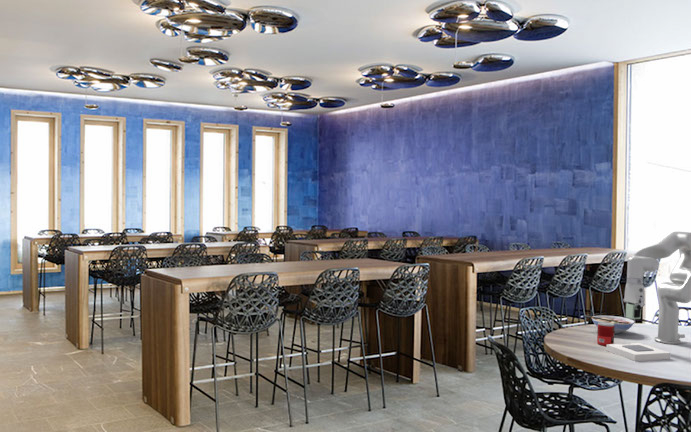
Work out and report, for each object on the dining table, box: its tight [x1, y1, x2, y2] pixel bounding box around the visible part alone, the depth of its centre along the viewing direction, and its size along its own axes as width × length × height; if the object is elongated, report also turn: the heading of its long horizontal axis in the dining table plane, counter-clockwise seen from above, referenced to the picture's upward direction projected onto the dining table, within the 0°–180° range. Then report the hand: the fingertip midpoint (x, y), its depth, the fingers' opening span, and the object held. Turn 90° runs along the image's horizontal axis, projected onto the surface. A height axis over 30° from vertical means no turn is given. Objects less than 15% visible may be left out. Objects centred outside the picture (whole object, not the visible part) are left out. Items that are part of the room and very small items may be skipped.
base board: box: [605, 342, 671, 362], centre depth 307 cm, size 20×20×3 cm
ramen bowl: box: [584, 315, 636, 335], centre depth 357 cm, size 25×23×8 cm
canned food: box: [596, 322, 615, 347], centre depth 327 cm, size 8×8×11 cm
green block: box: [625, 304, 642, 320], centre depth 325 cm, size 5×5×7 cm
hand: (633, 315), depth 326 cm, fingers closed on green block, 4 cm apart
